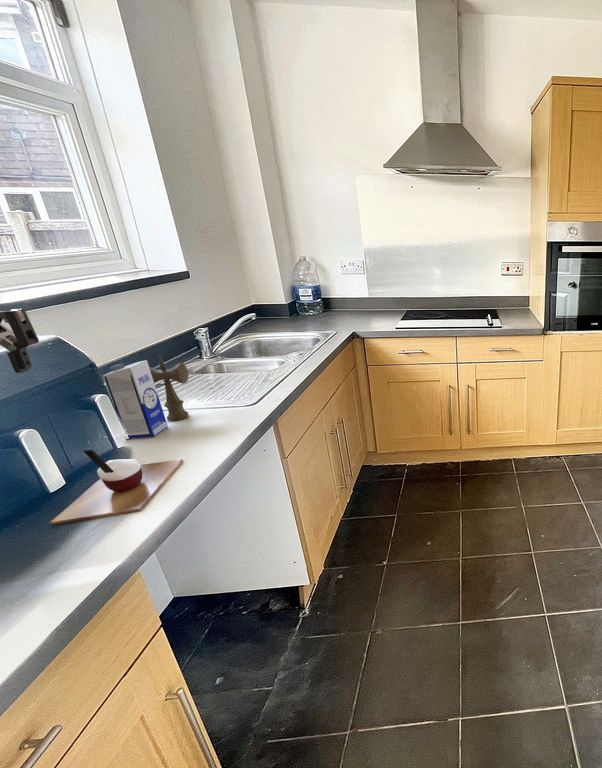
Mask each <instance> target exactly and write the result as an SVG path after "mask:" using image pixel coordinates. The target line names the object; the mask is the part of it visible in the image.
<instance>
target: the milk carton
mask: <svg viewBox="0 0 602 768" xmlns="http://www.w3.org/2000/svg"><path fill="white" fill-rule="evenodd" d="M149 367H150V365H149V362H148V359H145V360H140V361H137V362H134V363H131V364H128V365H125V364H124V363H118V364H115V365H112V366H110V367H109V370H110V372H108V373H106V374H103V375H102V378H103V382H104V384H105V387H106V390H107V389H108V390H107V392H109V393H108V395H109V398H110V397H111V398H110V400H111V399H112V401H111V403H112V402H113V404H114V406H115V409H116V411H117V413H118V415H119V417H120V419H121V421H122V423H123V425H124V428H125V429H126V432H127V434H128V437H129V439H128V440H132V439H131V438H136V439H144V438H145V439H146V438H147V439H148V438H155V437H156V436H157V435H158V434H160V433H161V432H163V431H164V430H165V429H166V428H168V427H169V426H168V422H167V418H166V415H165V413H164V409H163V406H162V404H161V400H160V397H159V394H158V391H157V388H156V385H155V384H156V383H155V384H154V381H153V378H152V375H151V372H150V368H149ZM113 404H112V405H113ZM115 409H114V410H115ZM167 426H168V427H167ZM164 428H165V429H164ZM163 429H164V430H163Z"/></svg>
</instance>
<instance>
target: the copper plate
mask: <svg viewBox="0 0 602 768" xmlns="http://www.w3.org/2000/svg"><path fill="white" fill-rule="evenodd" d="M183 462H184V461H183V459H173V460H165V461H159V462H149V463H143V464H140V465H141V466H140V467H141V470H142V480H141V482H140V483H139V484H138V485H137V486H136V487H134V488H133V489H130V490H127V491H124V492H115V491H112V490H109V489H108V488H107V487H106V486H105V484H104V483H103V481H102V479H101V478H100V477H99V479H97V480H96V481H95V482H94V483H93V484H92V485H91V486H90V487H88V488H87V490H85V491H84V492H83V493H81V495H80V496H79V497H77V498H76V499H75V500H74V501H73V502H72V503H70V504H69V505H68V506H67V507H65V508H64V509H63V510H62V512H60V513H59V514H58V515H57V516H55V518H53V519H52V520H51V521H50V524H51V525H52V526H53V525H58V524H65V523H72V522H79V521H83V520H84V521H85V520H91V519H97V518H105V517H111V516H118V515H124V514H130V513H137V512H141V511H142V510H143V509H144V508H145V506H146V505H148V503H149V502H150V501H151V499H152V498H153V497H154V496H155V495H156V493H158V491H159V490H160V489H161V488H162V487H163V485H164V484H165V483H166V482H167V480H169V479H170V477H172V475H174V472H175V471H176V470H177V469H178V468H179V467H180V465H182V463H183Z"/></svg>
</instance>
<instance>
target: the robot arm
mask: <svg viewBox="0 0 602 768" xmlns="http://www.w3.org/2000/svg"><path fill="white" fill-rule="evenodd" d="M3 320H4V323H7V324H8V325H9V327H10V328H8V327H7V326H5V325H4V324H2V321H3ZM37 335H38V334H37V332H36V331H35V329H34V327H33V325H32V322H31V320H30V318H29V315H28V314H27V312H26V310H25V309H24V308H15V309H10V310H3V311H2V310H0V346H1V347H3V348H4V349H6V350H7V352H6V354H7V356H8V359H9V362H10V364H11V366H12V368H13V372H15V374H21V373H25V372H28V371H30V369H31V368H32V365H33V364H32V361H31V358H30V355H29V354H28V351H27V348H28V347H30V346H33V345H36V344H39V343H40V339H39V336H37Z"/></svg>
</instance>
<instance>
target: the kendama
mask: <svg viewBox="0 0 602 768" xmlns="http://www.w3.org/2000/svg"><path fill="white" fill-rule="evenodd" d="M157 357H158V358H157V359H158V363H159V366H160V369H157V368H154V367H152V366H149V368H150V372H151V375H152V378H153V381H154V384H157V383H158V382H160V381H163V384H164V390H165V398H166V399H165V403H164V404H163V406H164V407H165V408H166V409H167V412H168V414H167V415H166V420H168V421H178V420H181V419H184V418H186V417H188V416H189V412H188V411H186V410H185V409H184V405H183V404H184V402H185V401H184V400H183V399H180V398H179V396H178V394H177V393H176V390H175V389H174V387H173V384H172V382H171V380H172V381H175V382H177V383H179V384H182V385H184V384H186V383H187V382H188V381H189V371H188V367H187V366H186V365H185V363H183V362H180V363H178V364H176V365H174V366H173V367H172V368H170V369H167V368H166V366H165V363H164V360H163V358H162V355H161V353H157Z"/></svg>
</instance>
